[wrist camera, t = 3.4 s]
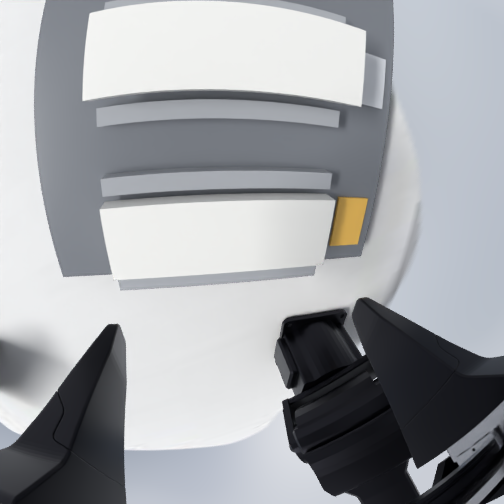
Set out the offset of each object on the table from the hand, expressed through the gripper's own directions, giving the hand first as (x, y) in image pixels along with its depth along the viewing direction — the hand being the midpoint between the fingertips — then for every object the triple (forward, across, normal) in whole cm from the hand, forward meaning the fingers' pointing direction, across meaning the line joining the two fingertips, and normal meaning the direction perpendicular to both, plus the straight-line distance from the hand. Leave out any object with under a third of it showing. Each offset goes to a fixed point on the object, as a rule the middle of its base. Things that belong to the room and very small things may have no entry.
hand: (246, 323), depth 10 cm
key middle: (+6, 0, -10) cm, 12 cm away
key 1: (+7, 0, 0) cm, 7 cm away
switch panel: (+10, 0, -10) cm, 14 cm away
